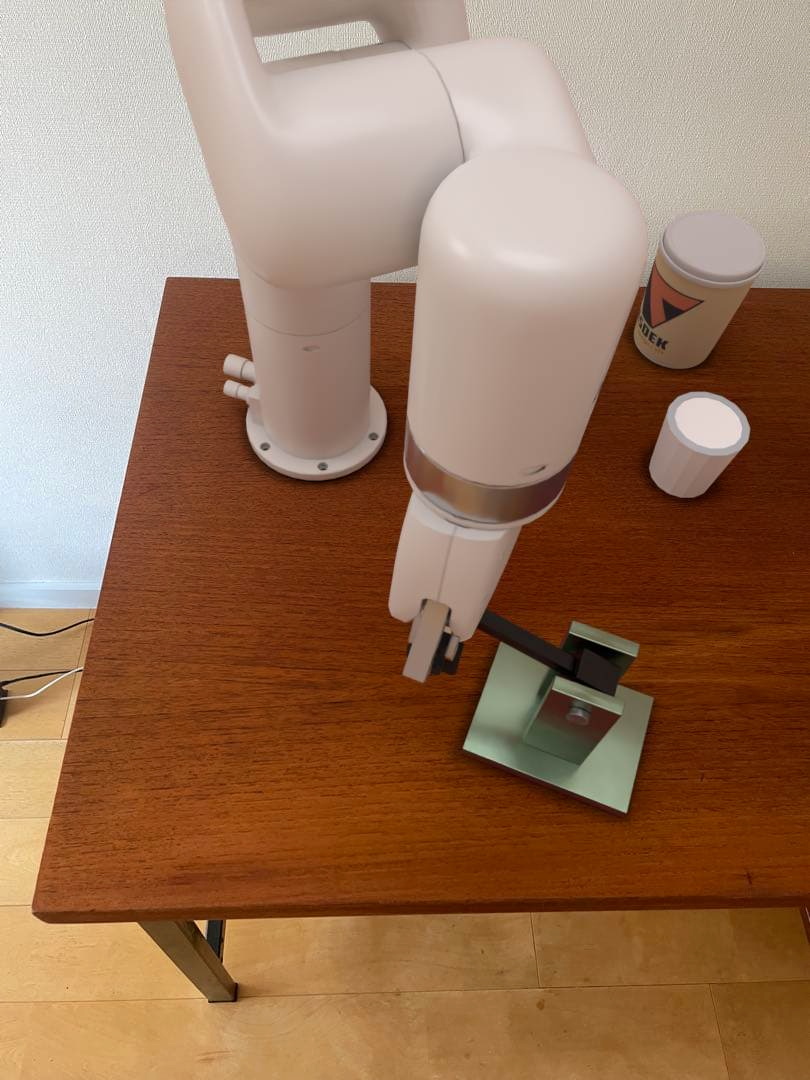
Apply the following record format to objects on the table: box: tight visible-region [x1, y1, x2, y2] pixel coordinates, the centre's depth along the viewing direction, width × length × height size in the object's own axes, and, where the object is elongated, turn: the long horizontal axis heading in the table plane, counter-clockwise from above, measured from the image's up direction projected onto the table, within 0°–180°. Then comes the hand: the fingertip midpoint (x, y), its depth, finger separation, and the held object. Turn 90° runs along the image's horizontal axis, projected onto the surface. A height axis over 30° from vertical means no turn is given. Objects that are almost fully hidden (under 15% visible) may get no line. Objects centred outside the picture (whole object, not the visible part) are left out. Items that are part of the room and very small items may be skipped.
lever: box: [444, 608, 622, 697], centre depth 50 cm, size 12×6×2 cm, turn 69°
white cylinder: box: [648, 391, 751, 499], centre depth 69 cm, size 7×7×7 cm
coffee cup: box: [633, 209, 767, 370], centre depth 75 cm, size 9×9×12 cm
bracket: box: [460, 619, 655, 818], centre depth 54 cm, size 12×9×12 cm
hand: (451, 615), depth 51 cm, fingers closed on lever, 6 cm apart
